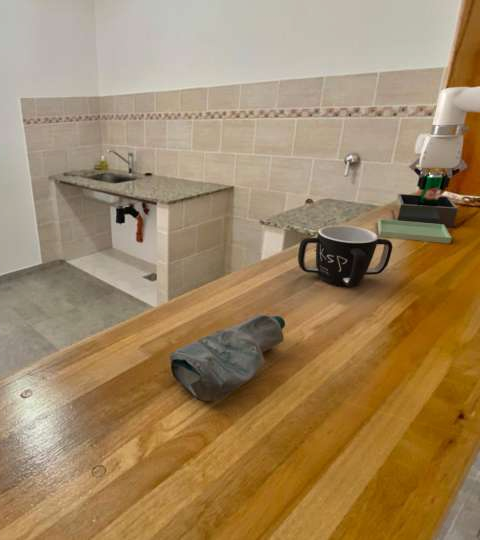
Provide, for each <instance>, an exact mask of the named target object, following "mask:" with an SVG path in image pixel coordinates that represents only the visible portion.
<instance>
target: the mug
mask: <svg viewBox="0 0 480 540" xmlns="http://www.w3.org/2000/svg"><path fill="white" fill-rule="evenodd" d="M308 244H315V266H309V265H307V264H306V253H307V247H308ZM377 245H383V249H382V253H381V257H380V260H379V262H378V263H377V265H375V267H371V268H370V265H371V262H372V260H373V257H374V255H375V252H376V249H377ZM393 249H394V247H393V243H392V242H391V240H389V239H386V238H379V235H378V234H377V233H375V231H372V230H369V229H366V228H362V227H358V226H352V225H327V226H323V227H321V228H320V229H318V231H317V236H316V237H304V238H303V239H302V240H301V241H300V243H299V248H298V252H297V253H298V254H297V262H298V265H299V268H300V269H301V271H303V272H305V273H310V274H311V273H312V274H316V275H317V276H318V278H319V279H320V281H322V282H324V283H326V284H329V285H333V286H336V287H349V288H356V287H358V286H359V285H360V283H361V282H362V280H363V279H364V277H365V276H366V275H369V276H372V275H379V274H381V273H383V271H385V269H386V268H387V266H388V264H389V262H390V259H391V257H392V252H393Z"/></svg>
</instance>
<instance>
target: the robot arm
mask: <svg viewBox="0 0 480 540" xmlns="http://www.w3.org/2000/svg"><path fill="white" fill-rule="evenodd" d="M467 113H480V86H473V87H472V86H471V87H470V86H454V87H453V86H452V87H446V88H443V89H442V90H441V91H440V92H439V96H438V99H437V103H436V109H435V112H434V116H433V121H432V125H431V129H430V134H429V135H426V136H425V138H424V141H423V143H422V146H421V149H420V152H419V156H418V157H417V158H416V159H415V160H413V161H412V162H411V163H410V164H409V165H408V168H409V169H411V170H412V171H413V172H414V173H415V174H416V175H417V176H418V179H417V184H416V187H418V189H419V191H421V190H422V189H423V186H424V181H425V175H426V174H427V172H428V170H429V169H430V170H431V169H432V170H433V169H435V170H437V169H442V170H443V169H444V170H445V174H444V176H445V177H444V181H443V185H442V189H441V191H446V188H449V185H450V181H451V178H453V177H454V176H455V175H457V174H459V173H460V172H462V171H464V170H466V169H467V168H468V165H467V163H466V162H465V160H464V159H463V158H462V152H463V144H464V135H463V133H464V132H468V131H469V129H470V125H469V126H467V125H465V121H466V117H467ZM417 165H418V166H419V168H421V169H419V168H418V167H417Z"/></svg>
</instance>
